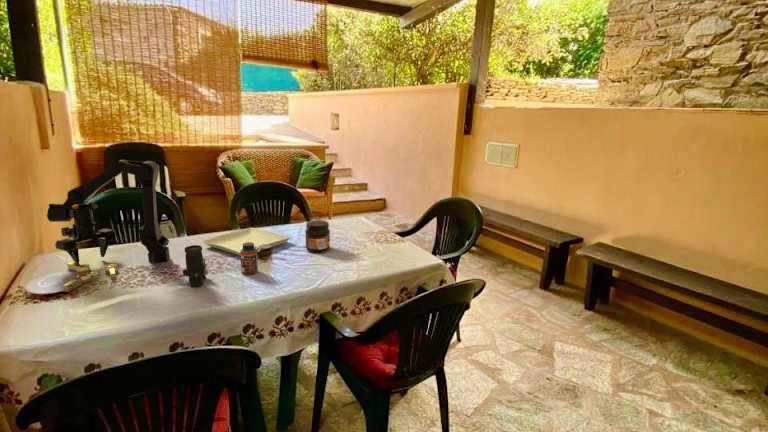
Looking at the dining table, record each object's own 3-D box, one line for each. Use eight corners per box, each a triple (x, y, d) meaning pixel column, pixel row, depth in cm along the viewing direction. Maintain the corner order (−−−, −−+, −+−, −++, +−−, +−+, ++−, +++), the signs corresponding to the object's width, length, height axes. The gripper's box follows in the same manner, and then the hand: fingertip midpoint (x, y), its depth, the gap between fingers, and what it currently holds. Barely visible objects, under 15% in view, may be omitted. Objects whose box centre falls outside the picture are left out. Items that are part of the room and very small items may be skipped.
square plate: (292, 244, 194) (292, 236, 193) (243, 261, 172) (243, 252, 171) (251, 233, 208) (251, 225, 207) (201, 248, 186) (201, 240, 185)
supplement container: (323, 254, 181) (323, 227, 177) (301, 251, 184) (300, 224, 181) (334, 247, 190) (333, 221, 187) (312, 244, 193) (312, 218, 190)
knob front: (93, 271, 154) (92, 264, 154) (81, 275, 151) (80, 268, 150) (75, 266, 158) (74, 260, 158) (64, 270, 155) (63, 263, 154)
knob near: (105, 271, 155) (103, 264, 154) (117, 269, 157) (116, 262, 156) (107, 281, 147) (105, 274, 146) (120, 278, 149) (119, 271, 149)
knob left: (83, 279, 148) (82, 272, 147) (94, 279, 148) (93, 272, 147) (60, 291, 138) (59, 284, 138) (72, 292, 138) (70, 284, 138)
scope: (204, 240, 152) (207, 249, 143) (208, 277, 156) (211, 287, 147) (179, 243, 148) (180, 252, 140) (183, 280, 152) (184, 291, 143)
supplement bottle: (243, 276, 157) (241, 247, 154) (240, 270, 162) (238, 242, 159) (259, 273, 160) (258, 245, 157) (256, 268, 165) (254, 240, 162)
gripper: (95, 212, 169) (101, 249, 173) (42, 223, 152) (50, 264, 156) (114, 216, 164) (119, 254, 168) (61, 228, 148) (69, 270, 152)
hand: (90, 260), depth 161 cm, fingers open, 9 cm apart
